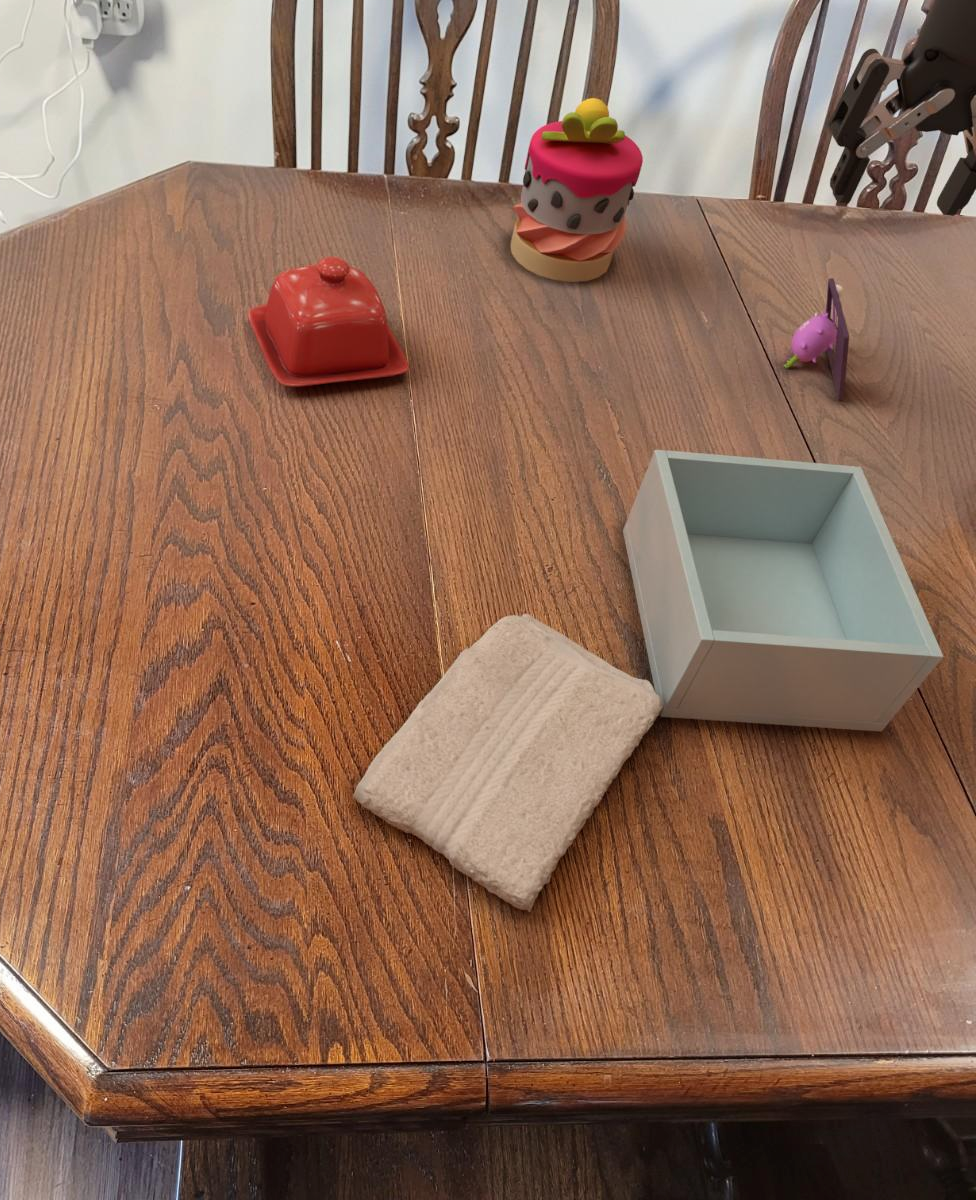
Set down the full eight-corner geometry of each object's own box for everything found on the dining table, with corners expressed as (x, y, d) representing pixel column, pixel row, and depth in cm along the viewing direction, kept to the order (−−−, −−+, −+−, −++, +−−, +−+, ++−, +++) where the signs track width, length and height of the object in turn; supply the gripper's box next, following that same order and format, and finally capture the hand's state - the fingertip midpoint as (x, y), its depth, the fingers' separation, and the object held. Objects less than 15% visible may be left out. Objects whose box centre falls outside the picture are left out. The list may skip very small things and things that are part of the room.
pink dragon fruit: (859, 334, 85) (842, 275, 91) (791, 342, 87) (778, 284, 93) (852, 401, 90) (836, 340, 96) (787, 407, 91) (776, 347, 97)
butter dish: (369, 305, 93) (379, 217, 86) (412, 385, 86) (426, 295, 80) (243, 319, 90) (243, 228, 83) (277, 403, 83) (280, 311, 76)
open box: (813, 546, 78) (861, 466, 72) (881, 732, 67) (944, 656, 61) (622, 531, 77) (654, 448, 71) (659, 717, 66) (701, 639, 60)
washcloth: (662, 712, 66) (677, 683, 64) (526, 929, 56) (538, 904, 54) (502, 621, 70) (511, 590, 68) (347, 808, 60) (351, 780, 57)
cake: (497, 224, 104) (528, 69, 93) (598, 227, 106) (641, 75, 95) (517, 283, 98) (554, 124, 86) (625, 286, 99) (675, 130, 88)
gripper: (926, -17, 66) (817, 220, 78) (1138, 10, 67) (997, 240, 79) (889, -59, 71) (791, 171, 83) (1087, -33, 72) (962, 190, 84)
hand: (892, 204), depth 81 cm, fingers open, 8 cm apart
